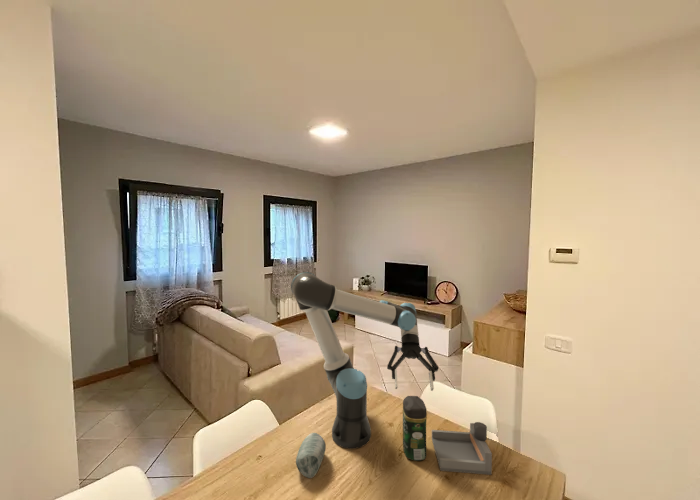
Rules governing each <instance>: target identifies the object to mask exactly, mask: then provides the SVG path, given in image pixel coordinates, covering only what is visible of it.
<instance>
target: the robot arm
mask: <svg viewBox="0 0 700 500" xmlns="http://www.w3.org/2000/svg"><path fill="white" fill-rule="evenodd" d="M290 289H291V292H292V295H294V298H295V301H296V304H297V305H298V308H299V310H300V311H301V312H304V313H305V315H306V318H307V320H308V323H309V325H310V327H311V330H312V332H313V334H314V337H315V340H316V342H317V344H318V347H319V350H320V352H321V354H322V356H323V359H324V364H323V369H324V371H325V374H326V378H327V380H328V382H329V384H330V387H331V388H332V391H333V392H334V395H335V398H336V415H335V419H334V421H333V425H332V427H331V437H332V440H333V443H335V444H336V445H338V446H339V447H342V448H344V449H351V450H352V449H359V448H362V447H364V446H366V445H367V444H368V443H369V442H370V441H371V438H372V428H371V424H370V422H369V418H368V415H367V412H368V411H367V406H368V403H367V399H368V398H367V396H368V382H367V377H366V375H365V374H364V373H363V371H361V370H358V369H357V368H355V367H354V366H353V363H352V361H351V358H350V356H349V354H348V353H346V352H344V349H343V347H342V345H341V343H340V339H339V338H338V335H337V332H336V330H335V327H334V324H333V323H332V320H331V317H330V315H329V312H328V311H330V310H334V311H339V312H343V313H345V314H350V315H352V316H353V315H354V316H358V317H360V318H365V319H367V320H368V319H369V320H372V321H376V322H380V323H383V324H387V325H391V326H394V327H397V328H399V329H400V336H401V337H400V338H401V339H400V340H401V346H397V345H395V346H394V350H393V353H392V354H391V357H390V358H389V361H388V364H387V365H386V368H387V370H390V371H391V379H392V380H394V389H395V390H397V389H398V388H399V387H398V386H399V384H398V369H397V368H398V367H399V366H400V365H401V363H402V362H403V361H404V360H405V359H409V360H410V359H412V360H416V359H417V360H418V361H419V362H421V364H422V365H423V366H424V367H425V368H426V369H427V370H428V379H429V386H430V387H429V388H430V389H429V390H430V391H432V392H433V391H434V389H435V388H434V382H435V380H436V374H435V373H437V372H438V371H439V366H438V364H437V363H436V361H435V359H434V358H433V357H432V355H431V354H430V351H429V348H428V346H425V347H421V346H420V337H419V328H418V327H419V326H418V317H417V315H418V313H417V310H416V306H415V305H414V303H411V302H403V303H401V304H400V305H399V304H396V303H392V302H390V301H388V300H384V299H382V300H381V299H380V300H378V301H377V300H374V299H371V298H368V297H365V296H360V295H358V294H353V293H350V292H347V291H344V290H341V289H337V286H336V285H332V284H330V283H329V282H326V281H323V280H322V279H320V278H319V277H317V276H316V274H314V273H312V272H310V271H309V272H307V271H305V272H301V273H298V274H297V275H296V276H295V277H293V279H292V282H291V285H290ZM399 352H401V353H402V354H401V356H400V357H399V358H398V359H397V360H396V362H394V361H395V359H396V357H397V354H398V353H399ZM421 352H422V353H421ZM423 355H424V356H425V357H426V359H427V360H426V359H425V358H424V356H423ZM393 363H394V364H393Z"/></svg>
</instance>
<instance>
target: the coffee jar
mask: <svg viewBox="0 0 700 500" xmlns="http://www.w3.org/2000/svg"><path fill="white" fill-rule="evenodd" d="M427 415H428V412H427V406H426V403H425V402H424V400H423V399H422V398H421V397H419V396H418V395H407V396H406V397H404V399H403V401H402V449H403V452H404V455H405V457H406V458H407V459H409V460H411V461H413V462H414V461H415V462H420V461H423V460H425V459H426V458H427Z"/></svg>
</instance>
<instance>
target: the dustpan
mask: <svg viewBox="0 0 700 500" xmlns="http://www.w3.org/2000/svg"><path fill="white" fill-rule="evenodd" d="M469 424H470V425H469V432H468V431H456V430H442V429H441V430H440V429H431V440H432V441H431V442H432V445H433V449H434V452H435V457H436V460H437V463H438V464H437V465H438V468H439V471H442V472H453V473H454V472H455V473H462V474H463V473H466V474H468V473H469V474H479V475H489V476H492V472H493V471H492V467H493V460H492V459H493V453H492V451H491V449H490V448H489V446H488V444H487V442H486V441H487V436H488V435H487V432H488V431H487V430H488V426H487V425H486V424H485V423H484V422H480V421H476V422H470V423H469Z"/></svg>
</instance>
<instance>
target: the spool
mask: <svg viewBox="0 0 700 500" xmlns="http://www.w3.org/2000/svg"><path fill="white" fill-rule="evenodd" d="M326 449H327V446H326V442H325V440H324V438H323V436H322V435H320V434H319V433H317V432H311V433H309V434H308V435H307V436H306V437H305V438H304V439H303V441H302V442H301V444H300V447H299V448H298V451H297V455H296V458H295V465H296V468H297V470H298V472H299V473H300V474H301V475H302V476H303V477H305V478H308V479H313V478H314V477H315V476H316V474H317V473H318V471H319V469H320V467H321V465H322V462H323V460H324V456H325V453H326Z"/></svg>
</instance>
